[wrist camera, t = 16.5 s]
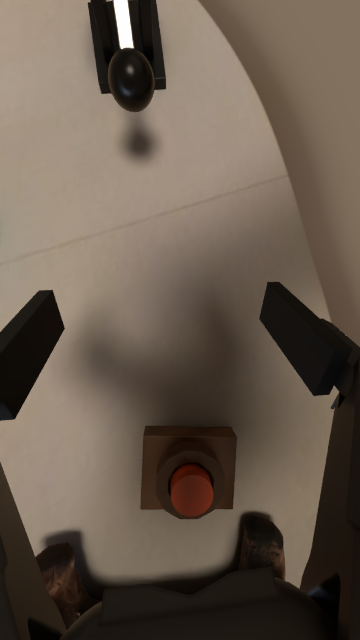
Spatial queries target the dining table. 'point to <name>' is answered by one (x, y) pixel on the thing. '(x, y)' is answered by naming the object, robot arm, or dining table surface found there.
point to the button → (191, 490)
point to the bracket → (143, 36)
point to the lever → (129, 66)
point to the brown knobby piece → (73, 601)
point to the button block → (187, 448)
